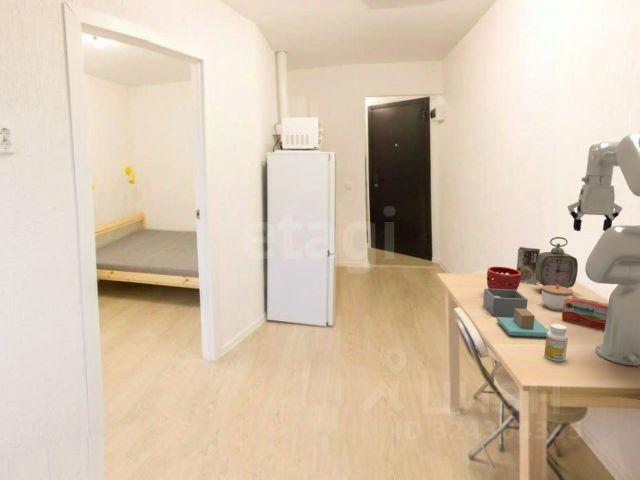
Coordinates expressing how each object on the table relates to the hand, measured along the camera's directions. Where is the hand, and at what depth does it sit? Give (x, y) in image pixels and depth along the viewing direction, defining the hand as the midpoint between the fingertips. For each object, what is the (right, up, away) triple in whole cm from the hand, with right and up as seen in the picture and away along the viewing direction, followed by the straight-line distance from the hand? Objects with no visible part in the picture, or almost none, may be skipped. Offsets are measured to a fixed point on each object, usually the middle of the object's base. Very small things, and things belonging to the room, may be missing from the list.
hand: (591, 230), depth 147 cm
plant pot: (-17, -28, +33) cm, 47 cm away
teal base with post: (-25, -34, -3) cm, 43 cm away
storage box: (-24, -31, +16) cm, 42 cm away
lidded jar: (-1, -30, +21) cm, 37 cm away
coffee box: (+5, -23, +58) cm, 63 cm away
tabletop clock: (+9, -27, +41) cm, 50 cm away
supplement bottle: (-25, -38, -22) cm, 51 cm away
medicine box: (+2, -33, +5) cm, 34 cm away
